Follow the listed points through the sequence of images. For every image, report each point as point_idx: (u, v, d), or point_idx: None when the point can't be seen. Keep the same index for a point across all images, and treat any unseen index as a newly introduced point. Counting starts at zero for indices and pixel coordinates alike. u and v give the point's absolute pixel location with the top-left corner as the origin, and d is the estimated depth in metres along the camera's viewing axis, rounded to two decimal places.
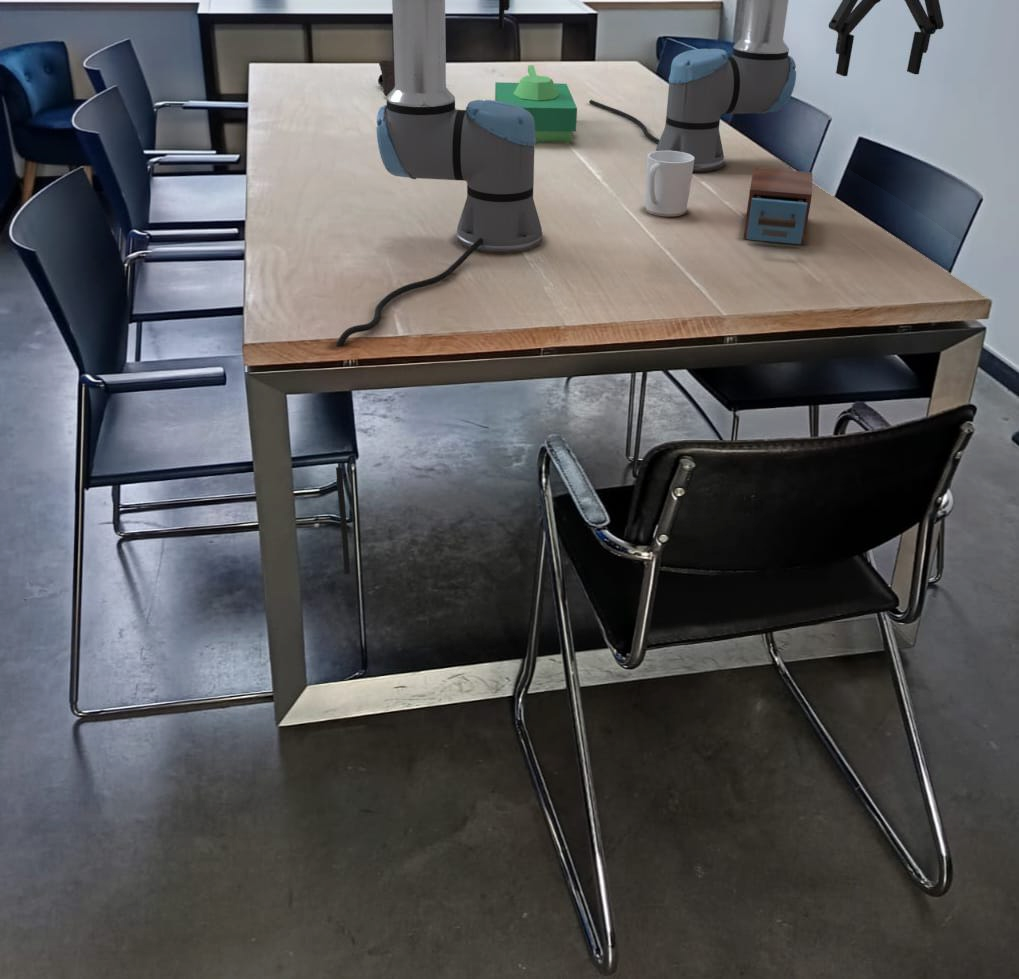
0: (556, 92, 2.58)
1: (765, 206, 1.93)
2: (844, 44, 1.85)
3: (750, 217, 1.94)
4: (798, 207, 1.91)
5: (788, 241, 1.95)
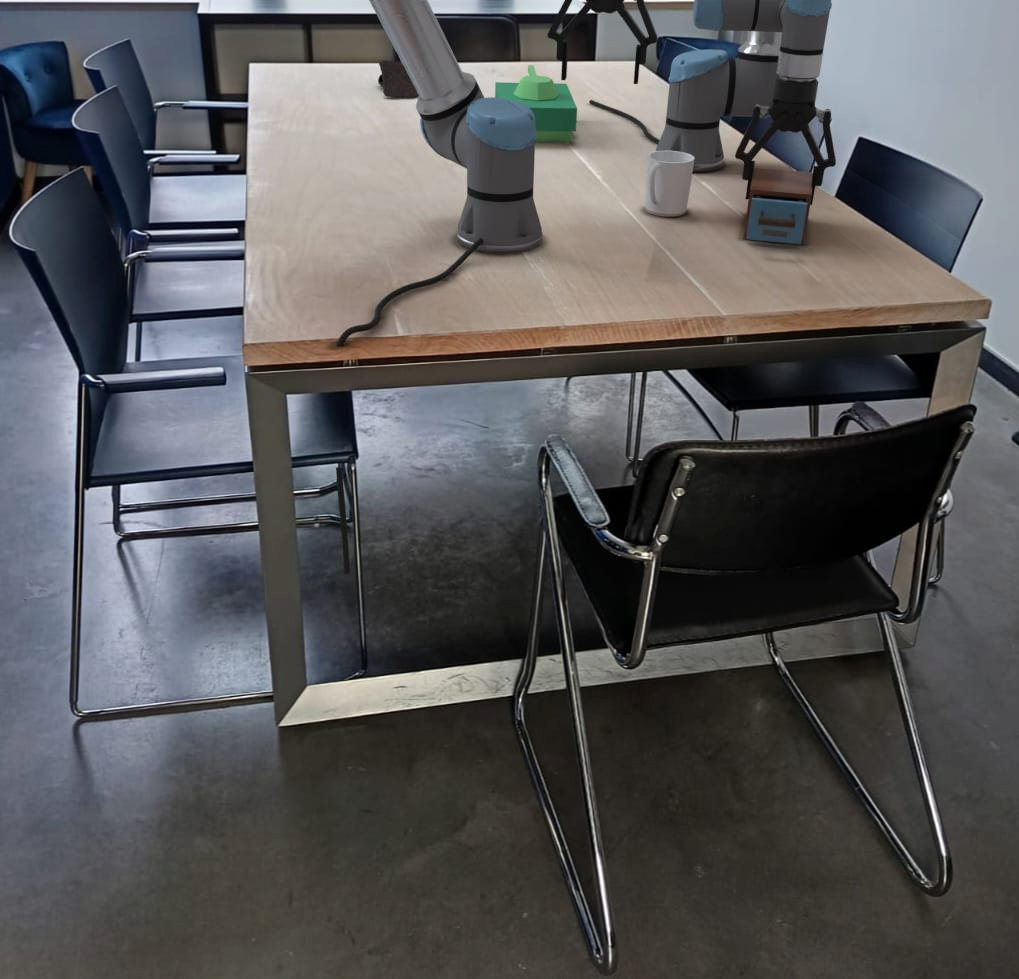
0: (556, 92, 2.58)
1: (765, 206, 1.93)
2: None
3: (750, 217, 1.94)
4: (798, 207, 1.91)
5: (788, 241, 1.95)
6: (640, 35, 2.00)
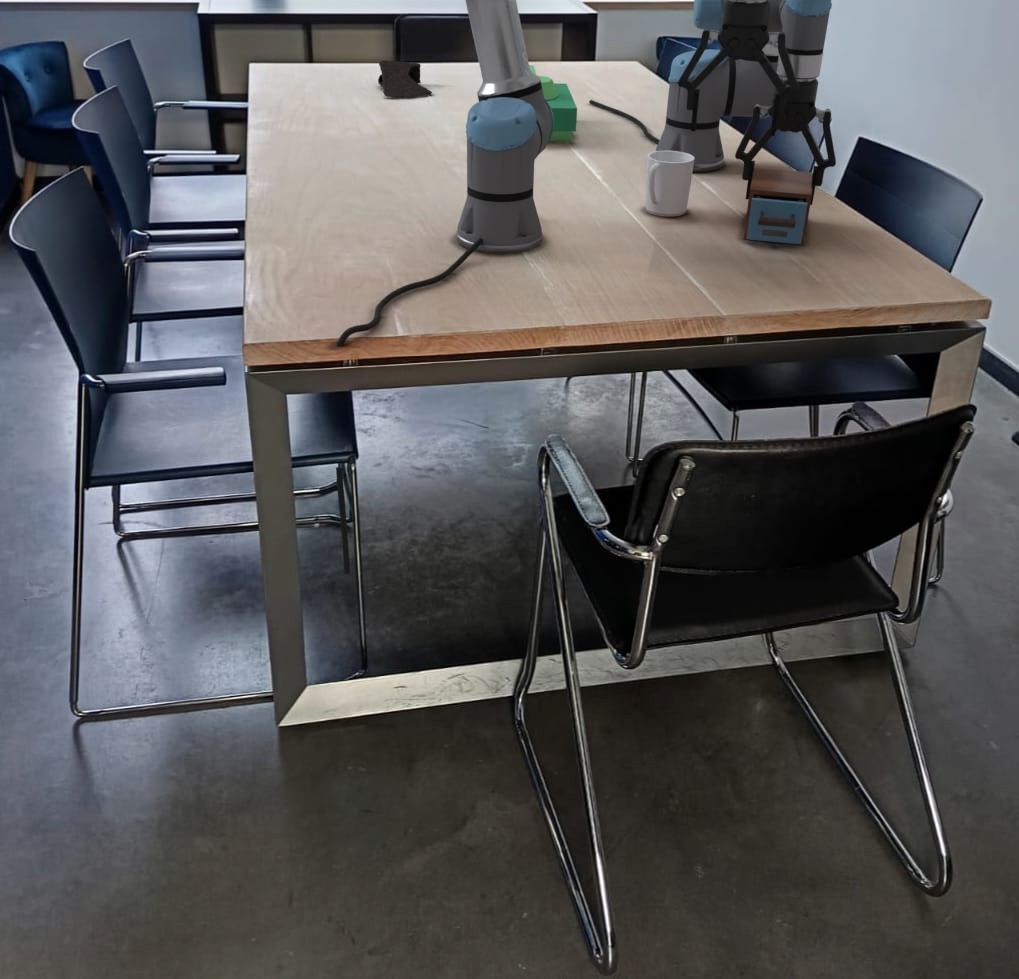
0: (556, 92, 2.58)
1: (765, 206, 1.93)
2: None
3: (750, 217, 1.94)
4: (798, 207, 1.91)
5: (788, 241, 1.95)
6: (780, 84, 1.84)
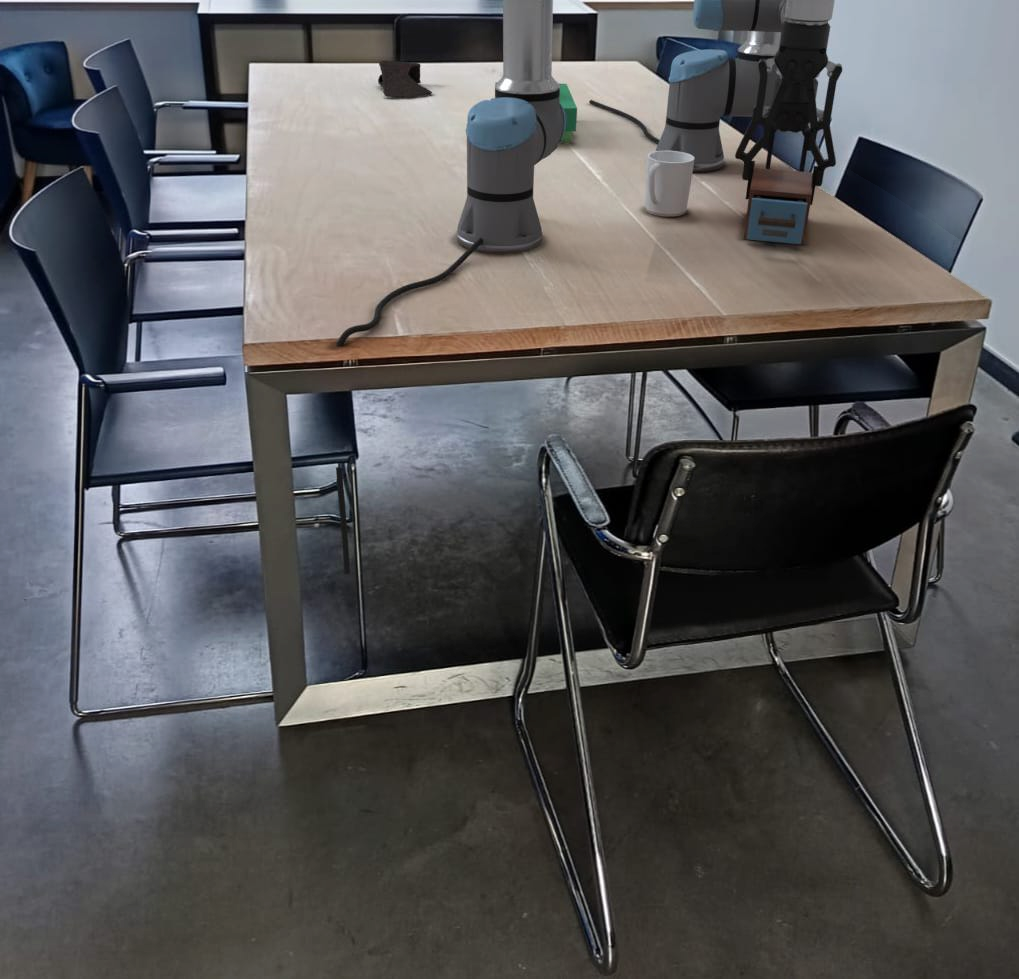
0: None
1: (765, 206, 1.93)
2: None
3: (750, 217, 1.94)
4: (798, 207, 1.91)
5: (788, 241, 1.95)
6: (814, 118, 1.80)
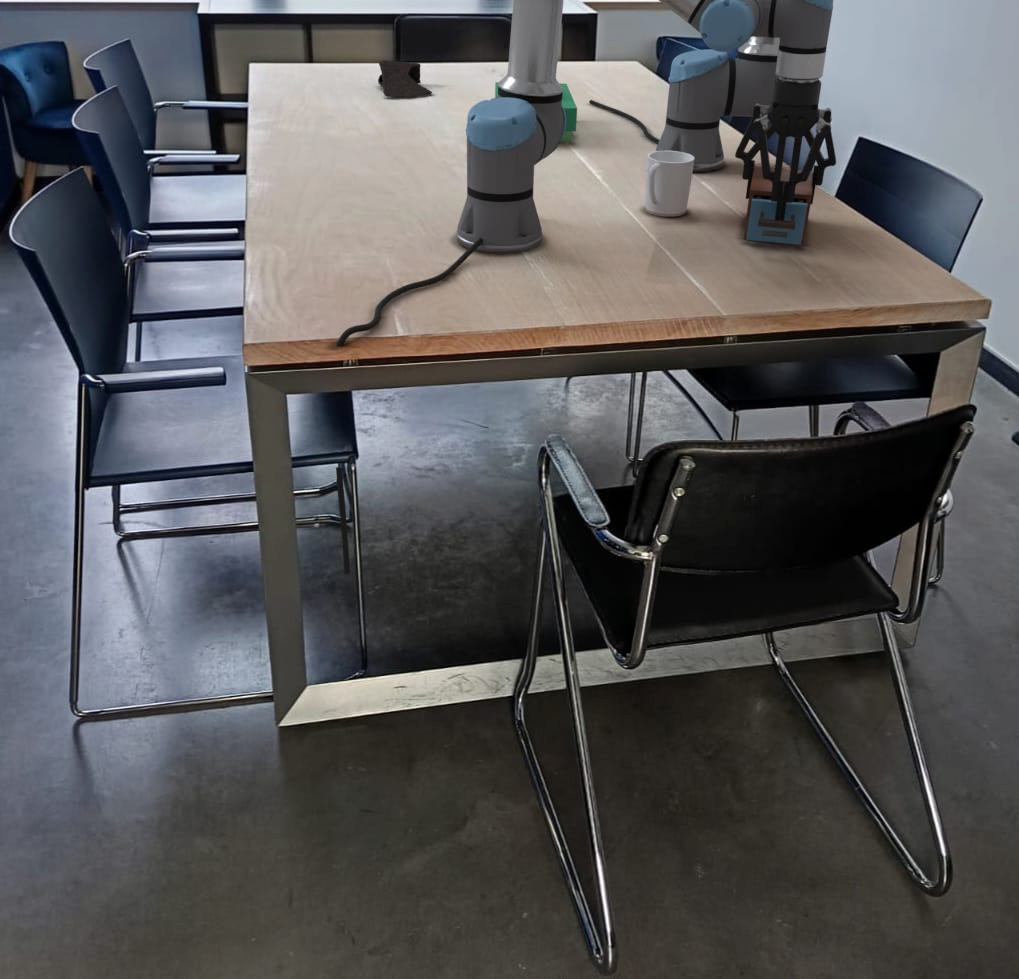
0: None
1: (765, 207, 1.92)
2: None
3: (750, 218, 1.94)
4: (798, 208, 1.91)
5: (788, 242, 1.95)
6: (795, 172, 1.85)
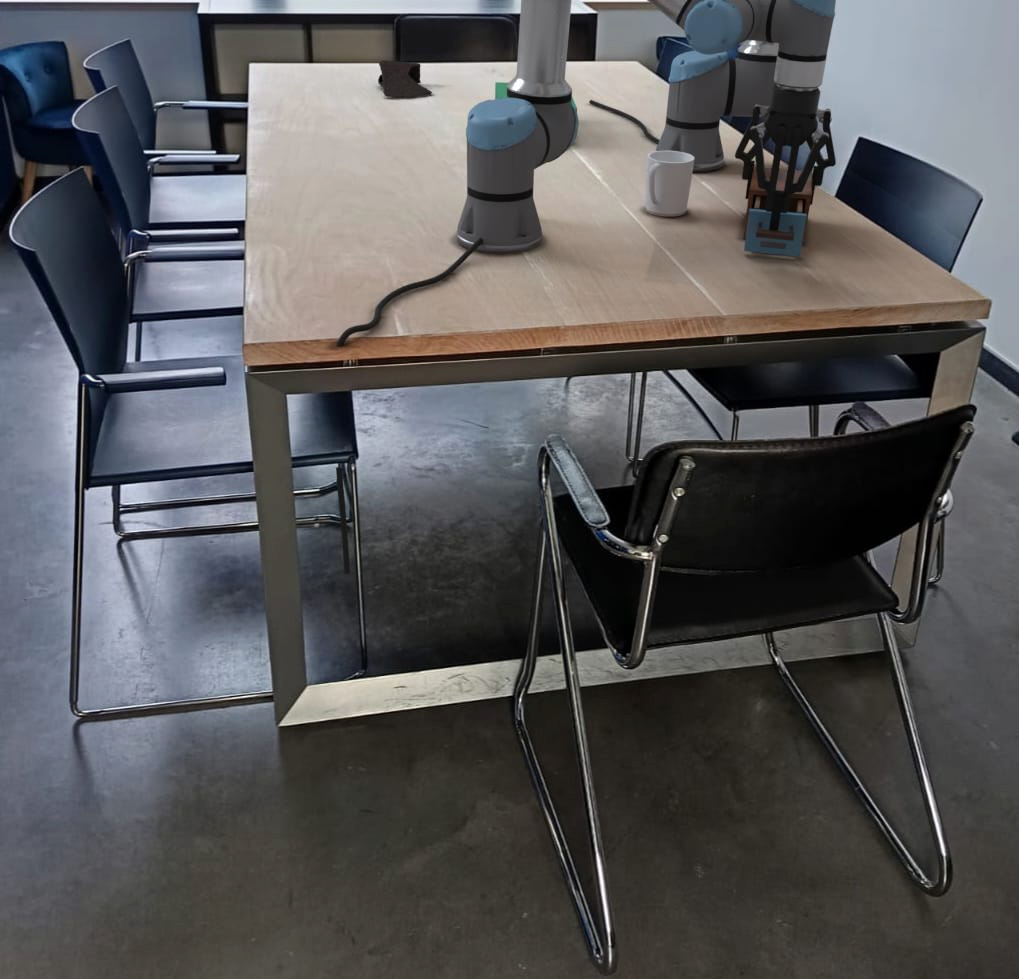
0: None
1: (763, 217, 1.87)
2: None
3: (748, 228, 1.89)
4: (797, 218, 1.86)
5: (787, 253, 1.90)
6: (790, 182, 1.80)
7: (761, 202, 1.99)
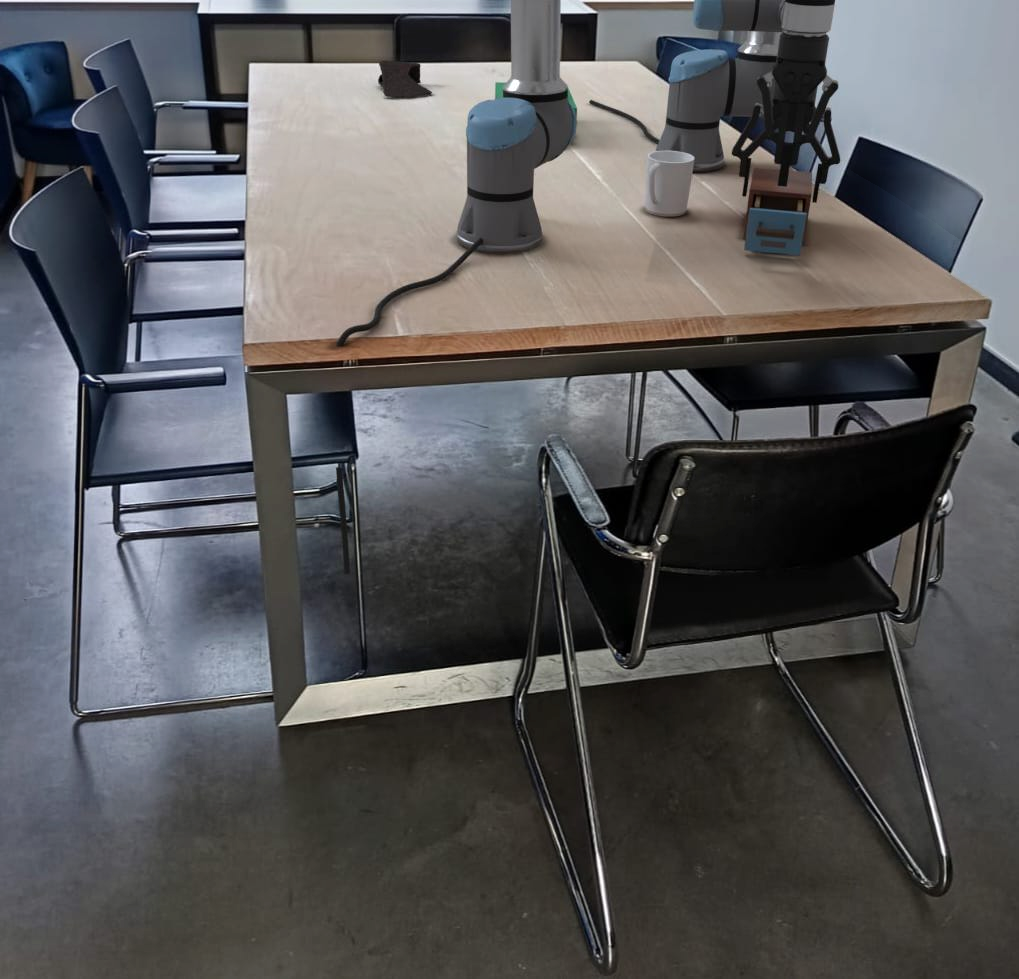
0: None
1: (763, 216, 1.87)
2: None
3: (748, 227, 1.89)
4: (797, 217, 1.86)
5: (787, 252, 1.90)
6: (799, 133, 1.76)
7: (761, 202, 1.99)
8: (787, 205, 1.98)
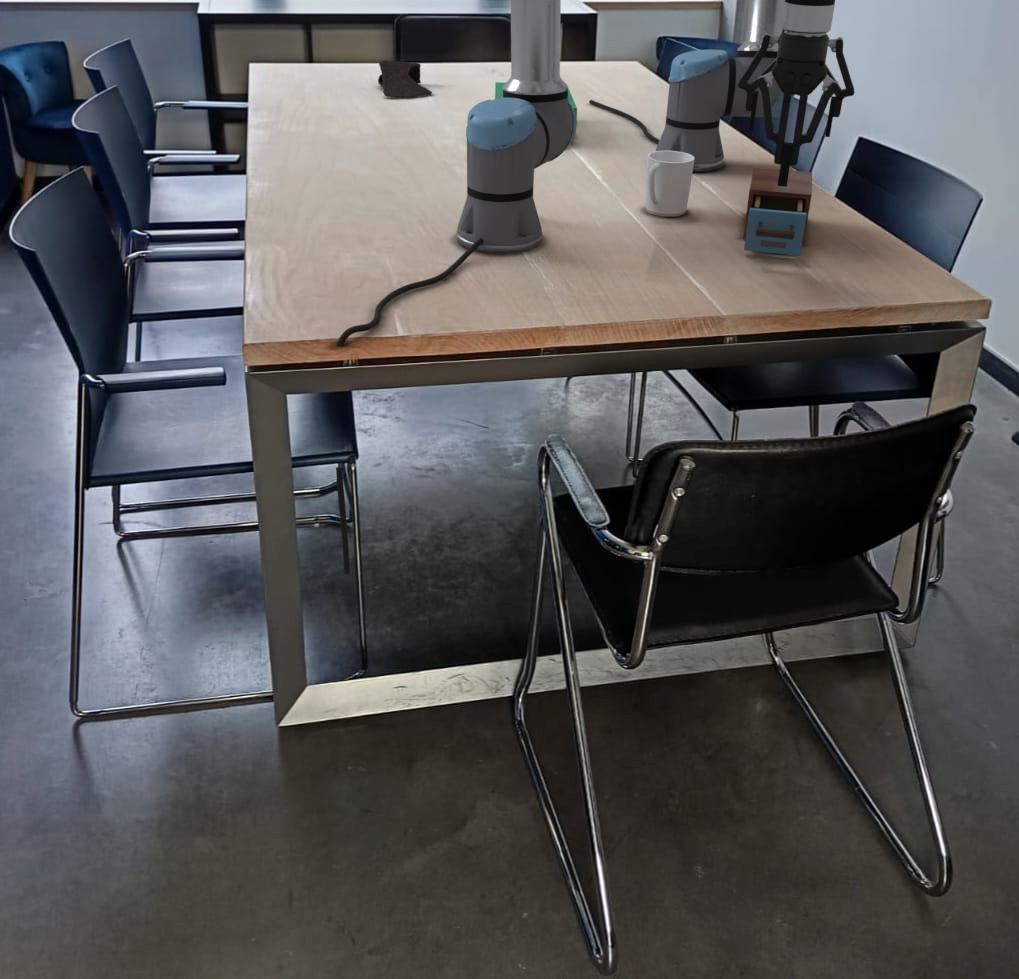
0: None
1: (763, 216, 1.87)
2: None
3: (748, 228, 1.89)
4: (797, 217, 1.86)
5: (787, 252, 1.90)
6: (799, 133, 1.76)
7: (761, 202, 1.99)
8: (787, 205, 1.98)
